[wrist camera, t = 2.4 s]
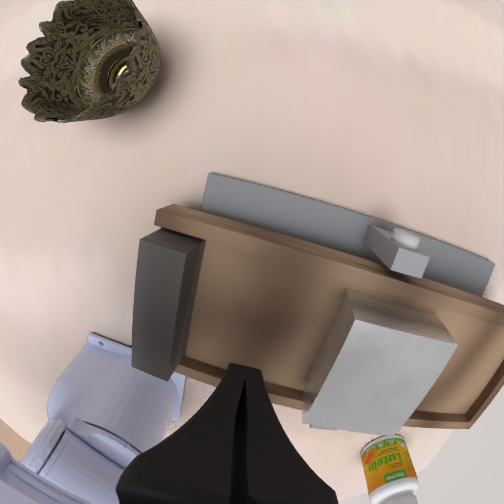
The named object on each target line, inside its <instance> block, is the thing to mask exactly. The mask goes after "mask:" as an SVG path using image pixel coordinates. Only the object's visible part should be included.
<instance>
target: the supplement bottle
mask: <svg viewBox="0 0 504 504" xmlns="http://www.w3.org/2000/svg"><path fill="white" fill-rule="evenodd" d="M361 458H362V463H363V468H364V473H365V478H366V482H367V488H368V493H369V498H370V502H371V503H372V504H418V503H417V499H416V496H415V495H413V494H414V493H415V491H416V490H417V488H418V485H419V484H418V479H417V476H416V472H415V469H414V467H413V464H412V461H411V458H410V455H409V452H408V449H407V446H406V443H405V441H404V439H403V437H401V436H399V435H394V436H383V437H380V438H378V439H376V440H374V441H372V442H370V443H369V444H368V445H366V446H365V447H364V448H363V450H362V452H361Z"/></svg>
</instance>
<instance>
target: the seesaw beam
mask: <svg viewBox="0 0 504 504" xmlns="http://www.w3.org/2000/svg"><path fill="white" fill-rule="evenodd" d="M154 225H157V226H160V227H161V229H159V230H157V231H155V232H153V233H151V234H149V235H147V236H146V237H144V238H142V239H140V243H139V251H138V260H137V270H136V281H135V293H134V307H133V326H132V359H131V367H133V368H136V369H138V370H140V371H143V372H145V373H147V374H150V375H152V376H154V377H157V378H159V379H162V380H164V381H167V382H168V381H169V379H170V378H171V376H172V374H173V373H174V372H176V373H179V374H181V375H184V376H187V377H190V378H192V379H195V380H198V381H201V382H204V383H207V384H210V385H213V386H216V387H217V386H218V385H219V383H220V382H221V380H222V378H223V376H224V374H225V372H226V370H227V367H228V364H229V363H236V364H240V365H244V366H248V367H253V368H257V369H260V370H261V371H262V374H263V379H264V383H265V386H266V389H267V393H268V395H269V398H270V401H271V403H274V404H278V405H282V406H286V407H291V408H295V409H299V410H303V392H304V382H305V380H306V378H307V376H308V374H309V372H310V369H311V367H312V365H313V363H314V361H315V359H316V357H317V354H318V352H319V350H320V348H321V346H322V343H323V341H324V339H325V337H326V334H327V332H328V330H329V328H330V325H331V323H332V320H333V318H334V316H335V313H336V311H337V308H338V306H339V304H340V301H341V299H342V296H343V294H344V291H345V289H346V288H349V289H352V290H356V291H359V292H363V293H366V294H370V295H373V296H377V297H380V298H384V299H387V300H391V301H394V302H398V303H402V304H405V305H409V306H412V307H416V308H419V309H423V310H426V311H430V312H433V313H436V315H437V316H438V317H439V319H440V320H441V321H442V323H443V324H444V325H445V327H446V328H447V330H448V331H449V332H450V334H451V335H452V337H453V338H454V339H455V341H456V342H457V344H458V346H457V348H456V349H455V351H454V353H453V354H452V356H451V358H450V359H449V361H448V363H447V364H446V366H445V367H444V369H443V371H442V372H441V374H440V375H439V377H438V378H437V380H436V381H435V383H434V384H433V386H432V387H431V389H430V390H429V391H428V393H427V394H426V396H425V397H424V398H423V400H422V401H421V403H420V404H419V405H418V407H417V408H416V409H415V411H414V412H413V413H412V414H411V416H410V417H409V418H408V420H407V421H406V422H405V423H404V425H403V426H409V427H423V428H443V429H470V427H471V426H472V425H473V424H474V423H475V422H476V420H477V419H478V418H479V417H480V415H481V414H482V413H483V412H484V410H485V409H486V408H487V407H488V405H489V404H490V403H491V401H492V400H493V399H494V397H495V396H496V395H497V393H498V392H499V390H500V389H501V388H502V386H503V385H504V305H502V304H500V303H497V302H494V301H491V300H488V299H485V298H482V297H480V296H477V295H474V294H471V293H468V292H465V291H462V290H459V289H456V288H453V287H450V286H447V285H444V284H441V283H438V282H435V281H432V280H429V279H426V278H423V277H422V278H417V277H414V276H410V275H407V274H403V273H400V272H396V271H393V270H390V269H389V268H388V267H387V266H386V265H382V264H379V263H376V262H373V261H370V260H366V259H363V258H360V257H357V256H353V255H350V254H347V253H344V252H340V251H337V250H334V249H331V248H327V247H324V246H321V245H317V244H314V243H310V242H307V241H304V240H300V239H297V238H294V237H290V236H287V235H283V234H280V233H276V232H273V231H269V230H266V229H262V228H259V227H255V226H252V225H248V224H245V223H241V222H238V221H234V220H231V219H227V218H223V217H220V216H216V215H213V214H209V213H205V212H202V211H198V210H194V209H190V208H187V207H183V206H179V205H176V204H172V205H169V206H167V207H164V208H161V209H158V210H157V211H156V217H155V223H154Z"/></svg>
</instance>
